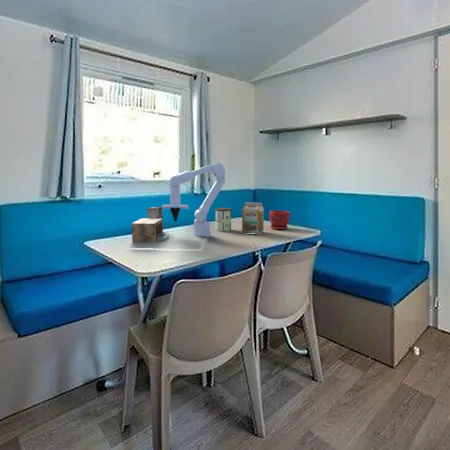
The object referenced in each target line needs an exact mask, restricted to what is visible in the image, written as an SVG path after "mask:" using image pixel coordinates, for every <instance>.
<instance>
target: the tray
mask: <svg viewBox="0 0 450 450" xmlns="http://www.w3.org/2000/svg"><path fill="white" fill-rule="evenodd" d="M168 238H169V233H163V234H156V242H165V241H166V240H167V239H168Z"/></svg>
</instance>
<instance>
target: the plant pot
mask: <svg viewBox="0 0 450 450" xmlns="http://www.w3.org/2000/svg"><path fill="white" fill-rule="evenodd" d="M290 214H291V212H290V211H288V210H269V221H270V222H269V223H270V224H271V225H270V228H271V229H272V228H274V229H273V230H276V229H285V230H287V229H288V228H289V227H288V224H289V221H290V216H291V215H290Z"/></svg>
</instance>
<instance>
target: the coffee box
mask: <svg viewBox="0 0 450 450" xmlns="http://www.w3.org/2000/svg"><path fill="white" fill-rule="evenodd" d="M146 218H154V219H163V220H164V217H163V208H162V206H159V207H158V206H152V207H148V208H146Z"/></svg>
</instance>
